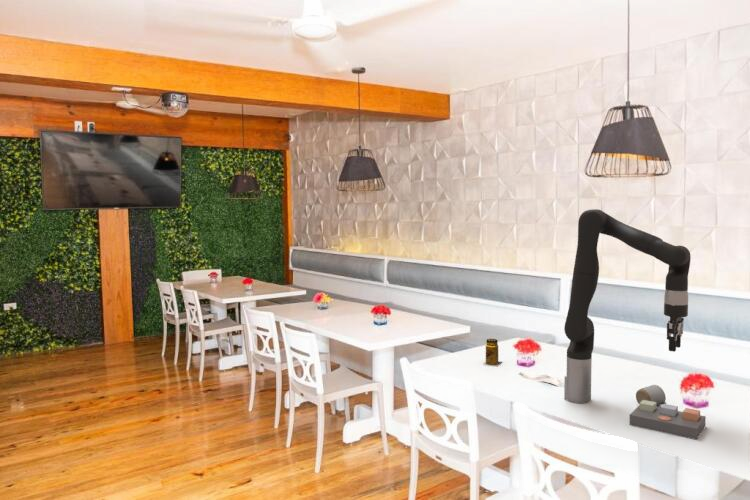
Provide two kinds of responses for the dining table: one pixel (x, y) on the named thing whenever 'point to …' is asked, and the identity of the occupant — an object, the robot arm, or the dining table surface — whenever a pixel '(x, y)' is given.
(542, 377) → the cloth
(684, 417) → the terracotta key
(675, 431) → the key panel
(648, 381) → the dining table surface
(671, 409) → the blue key
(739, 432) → the dining table surface
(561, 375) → the dining table surface
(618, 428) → the dining table surface
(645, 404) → the sage key
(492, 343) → the condiment
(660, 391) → the ceramic mug
